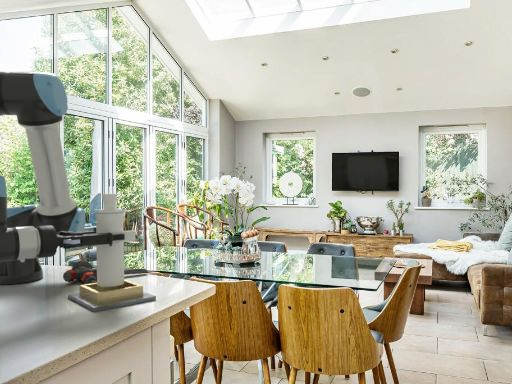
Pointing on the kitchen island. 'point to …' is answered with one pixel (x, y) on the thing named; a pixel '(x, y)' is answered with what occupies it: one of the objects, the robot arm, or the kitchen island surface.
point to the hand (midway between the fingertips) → (128, 234)
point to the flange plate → (110, 296)
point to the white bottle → (108, 256)
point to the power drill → (90, 272)
